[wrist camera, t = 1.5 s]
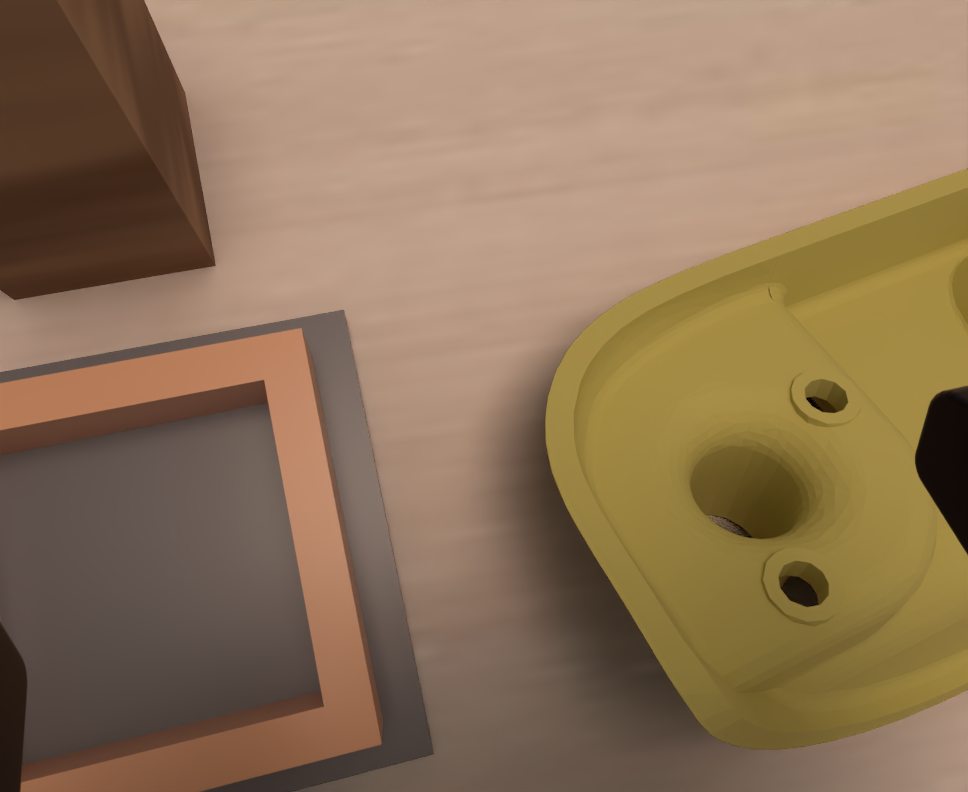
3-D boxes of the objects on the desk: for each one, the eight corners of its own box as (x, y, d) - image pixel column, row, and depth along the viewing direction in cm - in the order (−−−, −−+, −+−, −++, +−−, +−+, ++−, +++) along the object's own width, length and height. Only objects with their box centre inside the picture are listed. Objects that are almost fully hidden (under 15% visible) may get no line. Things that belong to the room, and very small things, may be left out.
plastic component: (1122, 113, 23) (1514, 369, 18) (993, 297, 29) (1257, 531, 24) (469, 344, 18) (733, 793, 13) (475, 508, 24) (656, 863, 19)
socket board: (432, 748, 20) (439, 782, 17) (-53, 875, 19) (-140, 937, 16) (344, 316, 22) (337, 278, 19) (-105, 398, 20) (-191, 370, 17)
